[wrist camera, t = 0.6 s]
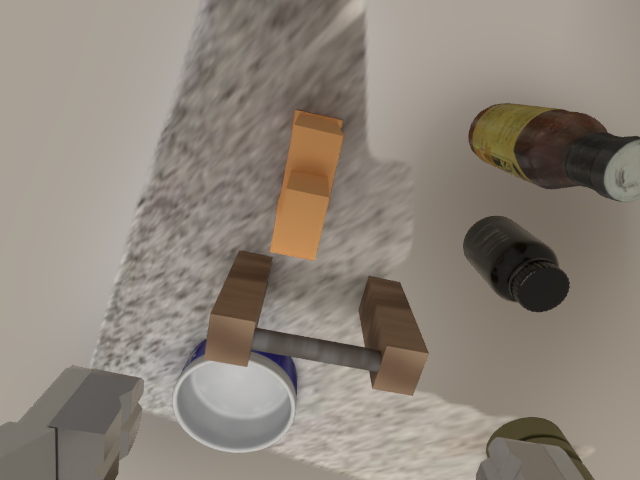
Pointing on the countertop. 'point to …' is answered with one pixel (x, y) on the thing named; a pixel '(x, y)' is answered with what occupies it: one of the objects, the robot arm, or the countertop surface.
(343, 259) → the countertop surface
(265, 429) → the dog bowl
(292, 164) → the orange stepped block
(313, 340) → the crossbar stand
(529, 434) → the piston
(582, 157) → the sauce bottle
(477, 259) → the supplement bottle
